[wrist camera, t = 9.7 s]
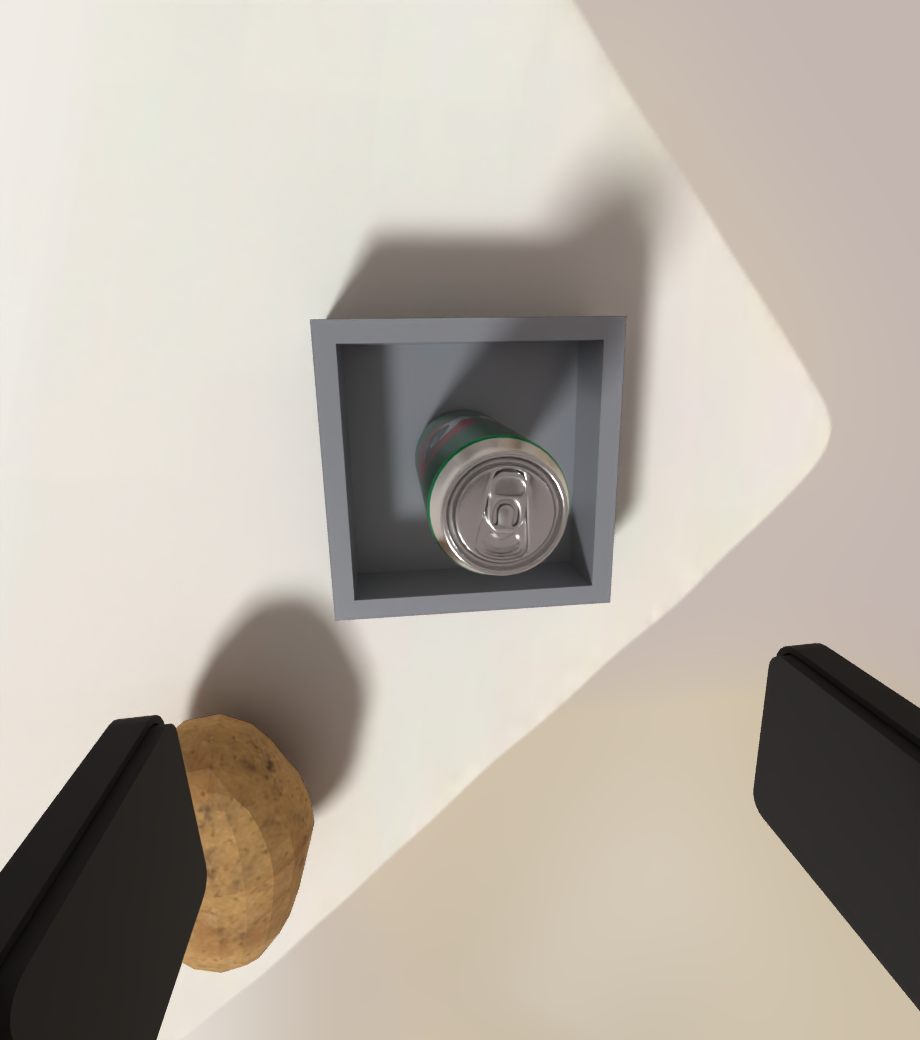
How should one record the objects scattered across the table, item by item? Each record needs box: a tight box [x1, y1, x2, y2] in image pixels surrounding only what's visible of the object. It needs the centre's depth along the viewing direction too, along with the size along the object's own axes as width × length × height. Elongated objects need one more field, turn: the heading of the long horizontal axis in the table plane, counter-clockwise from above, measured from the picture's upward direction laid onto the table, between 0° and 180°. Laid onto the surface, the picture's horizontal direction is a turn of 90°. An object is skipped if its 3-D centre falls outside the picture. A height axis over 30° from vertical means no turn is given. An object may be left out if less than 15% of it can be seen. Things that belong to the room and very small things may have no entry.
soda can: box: [415, 409, 570, 576], centre depth 25 cm, size 5×5×12 cm
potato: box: [176, 714, 314, 973], centre depth 31 cm, size 10×14×8 cm
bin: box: [310, 316, 627, 621], centre depth 29 cm, size 14×14×4 cm
